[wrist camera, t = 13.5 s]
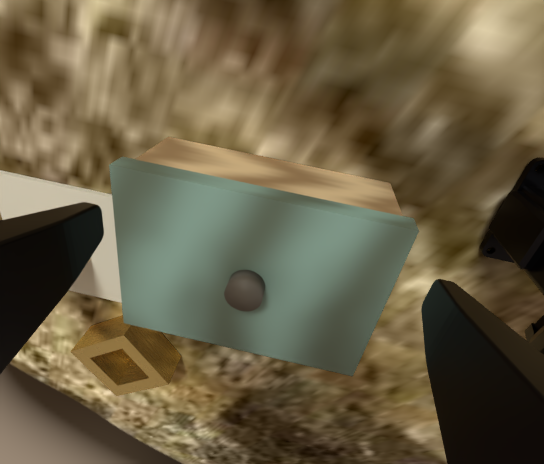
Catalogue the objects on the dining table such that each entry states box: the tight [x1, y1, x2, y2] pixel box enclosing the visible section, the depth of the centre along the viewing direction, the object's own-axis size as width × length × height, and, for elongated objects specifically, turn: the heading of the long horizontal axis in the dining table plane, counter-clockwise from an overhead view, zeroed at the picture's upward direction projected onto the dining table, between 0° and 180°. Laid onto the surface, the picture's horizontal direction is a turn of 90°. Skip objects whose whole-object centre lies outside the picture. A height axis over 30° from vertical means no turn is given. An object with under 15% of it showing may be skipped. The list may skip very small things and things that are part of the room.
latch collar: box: [71, 315, 181, 396], centre depth 31 cm, size 6×6×3 cm
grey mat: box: [0, 170, 122, 303], centre depth 27 cm, size 10×10×1 cm
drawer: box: [109, 137, 419, 376], centre depth 21 cm, size 15×11×7 cm
